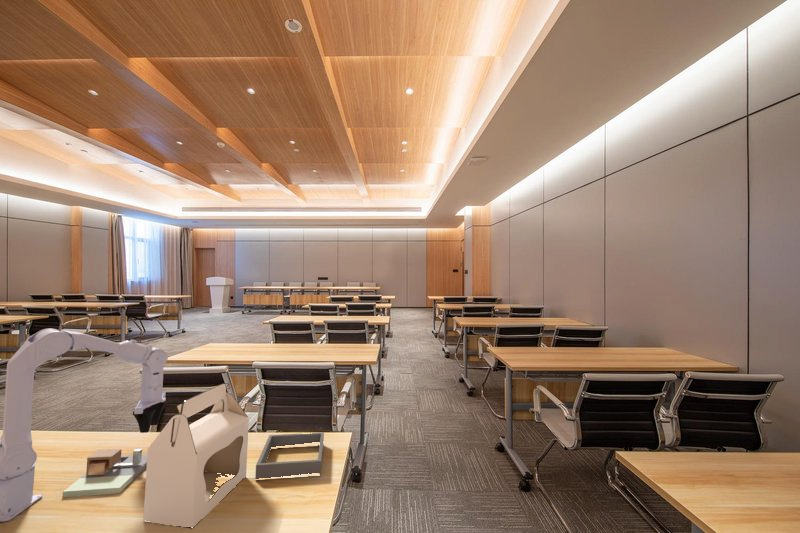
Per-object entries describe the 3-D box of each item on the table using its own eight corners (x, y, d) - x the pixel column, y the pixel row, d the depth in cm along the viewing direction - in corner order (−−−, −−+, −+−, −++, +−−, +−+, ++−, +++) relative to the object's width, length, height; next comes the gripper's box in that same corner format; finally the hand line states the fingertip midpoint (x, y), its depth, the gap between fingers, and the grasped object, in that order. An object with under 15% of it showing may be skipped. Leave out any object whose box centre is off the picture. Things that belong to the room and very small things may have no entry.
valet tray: (320, 476, 102) (321, 461, 103) (255, 481, 99) (256, 465, 99) (323, 445, 122) (323, 432, 122) (268, 448, 118) (269, 435, 118)
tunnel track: (119, 493, 92) (121, 468, 92) (62, 497, 89) (64, 472, 90) (154, 458, 109) (156, 438, 110) (108, 461, 107) (109, 440, 107)
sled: (129, 474, 98) (130, 458, 98) (87, 477, 96) (88, 461, 96) (144, 460, 105) (145, 446, 105) (105, 462, 103) (106, 448, 104)
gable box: (206, 472, 103) (211, 378, 104) (246, 476, 101) (251, 381, 103) (141, 523, 81) (148, 404, 82) (191, 530, 79) (198, 408, 80)
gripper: (153, 392, 103) (150, 438, 103) (176, 378, 117) (173, 418, 117) (127, 393, 102) (124, 439, 101) (153, 379, 116) (151, 419, 116)
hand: (149, 428), depth 109 cm, fingers open, 5 cm apart
